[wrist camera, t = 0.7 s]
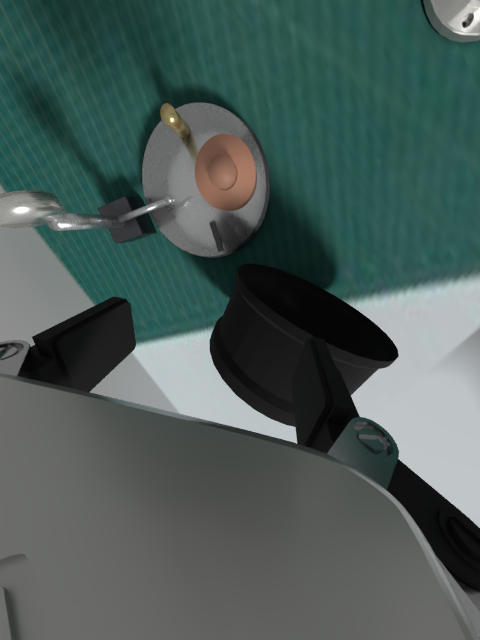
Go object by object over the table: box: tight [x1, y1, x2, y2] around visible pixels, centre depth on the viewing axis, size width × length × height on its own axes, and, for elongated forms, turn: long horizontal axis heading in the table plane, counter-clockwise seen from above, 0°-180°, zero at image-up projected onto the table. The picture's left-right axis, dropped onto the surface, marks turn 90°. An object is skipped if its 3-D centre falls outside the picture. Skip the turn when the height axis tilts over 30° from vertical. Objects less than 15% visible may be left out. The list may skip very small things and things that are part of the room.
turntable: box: [142, 103, 266, 256], centre depth 25 cm, size 17×17×6 cm
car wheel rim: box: [210, 264, 399, 427], centre depth 26 cm, size 20×10×20 cm, turn 68°
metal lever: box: [0, 191, 174, 244], centre depth 23 cm, size 12×5×18 cm, turn 106°
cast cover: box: [195, 134, 257, 211], centre depth 23 cm, size 7×7×5 cm
